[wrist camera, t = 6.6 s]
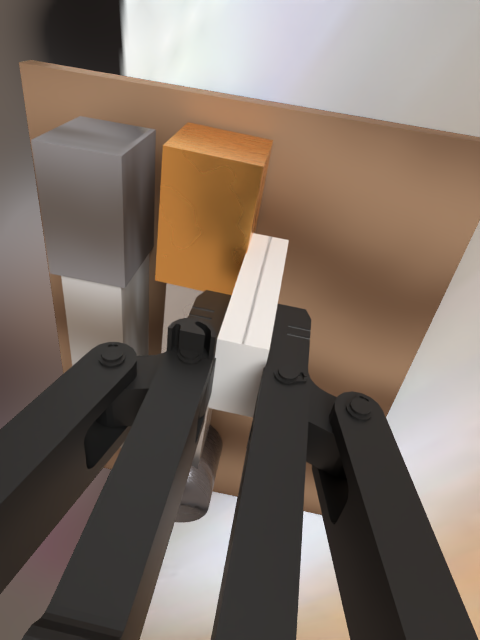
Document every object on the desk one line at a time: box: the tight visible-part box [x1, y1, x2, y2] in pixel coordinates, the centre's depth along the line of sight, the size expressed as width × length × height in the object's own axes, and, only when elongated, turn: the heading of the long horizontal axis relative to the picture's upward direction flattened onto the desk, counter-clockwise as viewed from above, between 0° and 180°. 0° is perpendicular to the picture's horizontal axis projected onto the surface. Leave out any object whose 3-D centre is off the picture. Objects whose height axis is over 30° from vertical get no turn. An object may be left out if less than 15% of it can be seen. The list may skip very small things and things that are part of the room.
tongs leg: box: [155, 122, 273, 522], centre depth 21 cm, size 20×4×4 cm, turn 170°
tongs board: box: [19, 60, 480, 515], centre depth 22 cm, size 24×18×4 cm
